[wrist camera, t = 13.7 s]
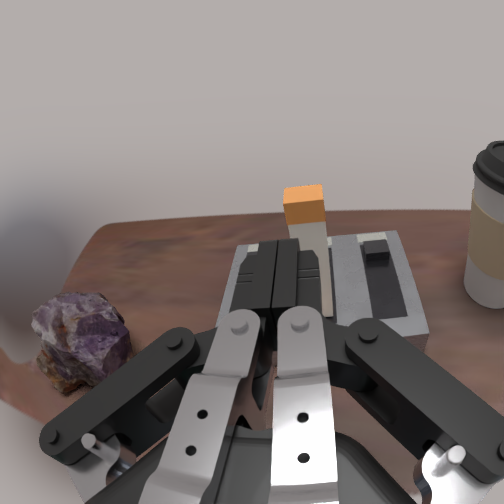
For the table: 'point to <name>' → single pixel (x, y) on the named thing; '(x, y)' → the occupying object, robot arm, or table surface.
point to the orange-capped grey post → (310, 231)
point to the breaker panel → (361, 284)
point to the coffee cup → (487, 230)
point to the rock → (80, 339)
